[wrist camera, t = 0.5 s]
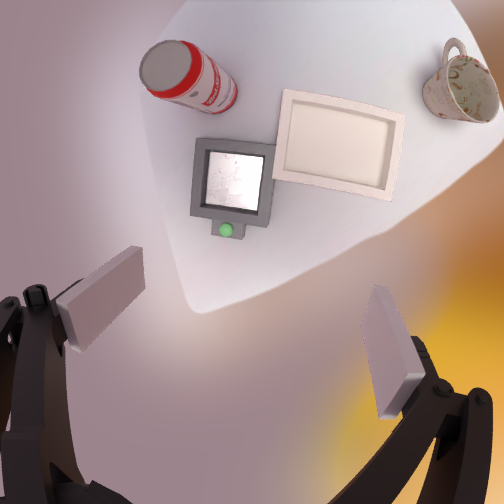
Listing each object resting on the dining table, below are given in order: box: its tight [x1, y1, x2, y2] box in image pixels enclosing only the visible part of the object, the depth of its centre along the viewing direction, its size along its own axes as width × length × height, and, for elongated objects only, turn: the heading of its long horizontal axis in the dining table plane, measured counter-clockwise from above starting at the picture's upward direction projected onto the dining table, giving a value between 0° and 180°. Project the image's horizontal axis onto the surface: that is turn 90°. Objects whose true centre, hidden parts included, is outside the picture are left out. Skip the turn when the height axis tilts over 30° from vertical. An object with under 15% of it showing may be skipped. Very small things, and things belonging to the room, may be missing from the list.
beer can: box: [139, 40, 237, 114], centre depth 26 cm, size 6×6×16 cm
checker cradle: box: [190, 138, 276, 240], centre depth 37 cm, size 13×11×2 cm
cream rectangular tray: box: [272, 89, 406, 202], centre depth 32 cm, size 11×15×4 cm
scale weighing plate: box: [206, 152, 264, 210], centre depth 37 cm, size 7×7×1 cm
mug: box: [423, 38, 499, 123], centre depth 23 cm, size 8×13×10 cm, turn 1°
